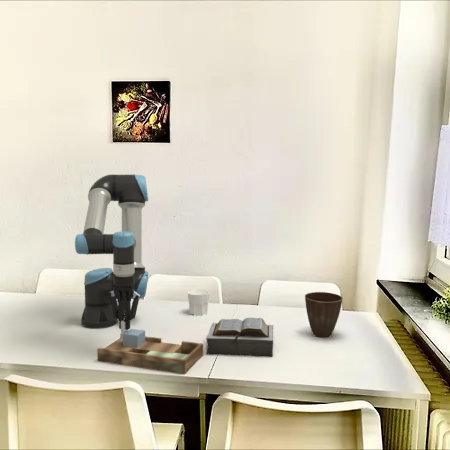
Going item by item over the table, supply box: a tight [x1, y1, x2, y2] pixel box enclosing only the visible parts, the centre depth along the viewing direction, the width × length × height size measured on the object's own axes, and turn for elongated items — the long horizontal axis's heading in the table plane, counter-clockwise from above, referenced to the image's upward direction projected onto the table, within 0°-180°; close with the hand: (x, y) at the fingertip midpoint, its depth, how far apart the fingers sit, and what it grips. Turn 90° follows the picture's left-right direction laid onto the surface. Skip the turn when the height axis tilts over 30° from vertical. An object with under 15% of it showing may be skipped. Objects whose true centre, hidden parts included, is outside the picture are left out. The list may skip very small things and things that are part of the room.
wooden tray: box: [96, 333, 204, 375], centre depth 181 cm, size 33×17×4 cm, turn 72°
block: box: [123, 328, 146, 348], centre depth 187 cm, size 6×6×4 cm
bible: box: [206, 317, 274, 358], centre depth 194 cm, size 23×27×10 cm
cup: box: [187, 289, 211, 317], centre depth 235 cm, size 10×10×10 cm
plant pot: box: [304, 291, 344, 339], centre depth 207 cm, size 15×15×16 cm
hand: (124, 337), depth 188 cm, fingers closed
